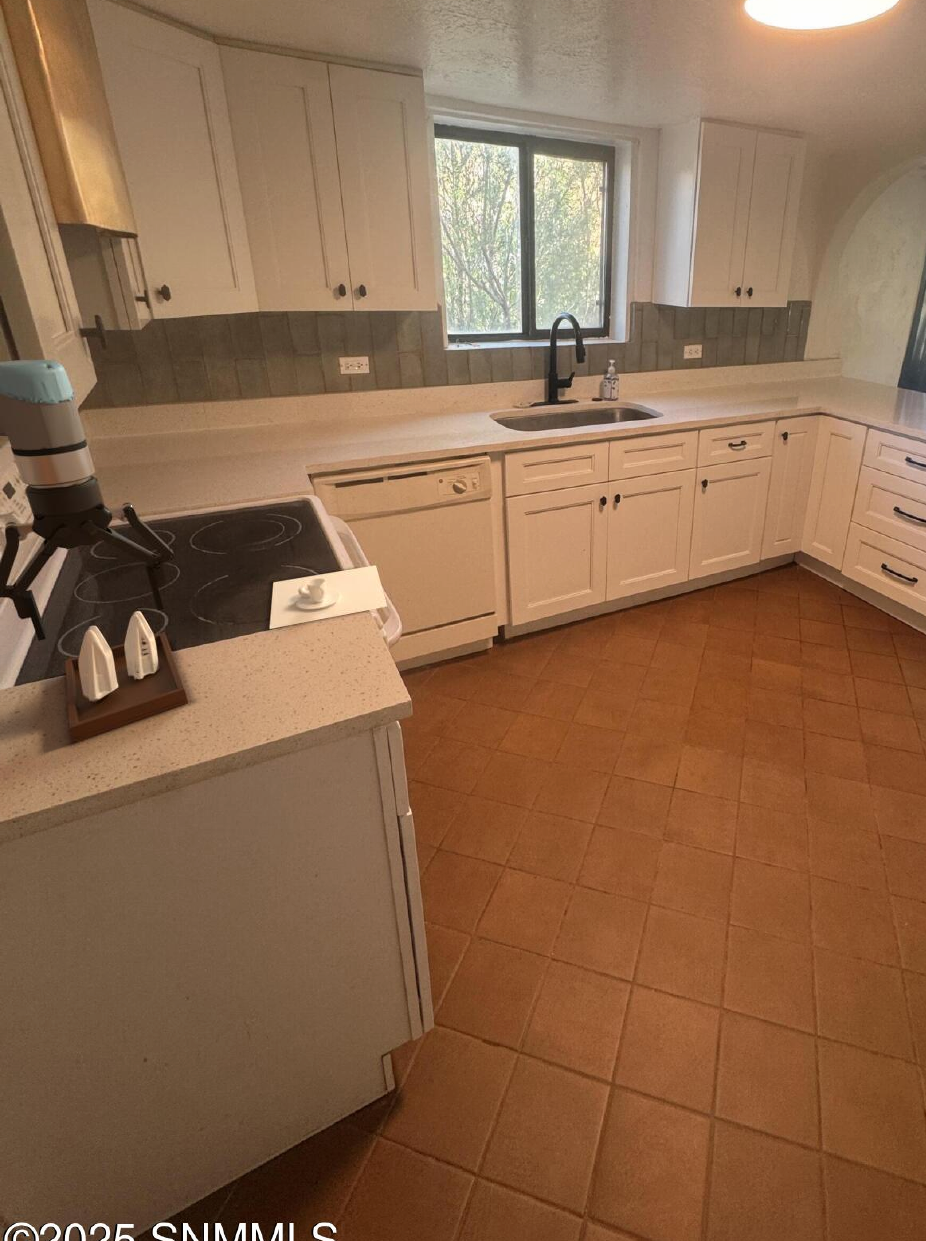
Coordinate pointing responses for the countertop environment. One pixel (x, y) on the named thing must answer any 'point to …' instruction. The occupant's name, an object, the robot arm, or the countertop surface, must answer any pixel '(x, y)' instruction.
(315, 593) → the teacup and saucer
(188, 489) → the countertop surface
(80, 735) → the tray
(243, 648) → the countertop surface
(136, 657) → the shaker set
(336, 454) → the countertop surface
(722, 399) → the countertop surface
